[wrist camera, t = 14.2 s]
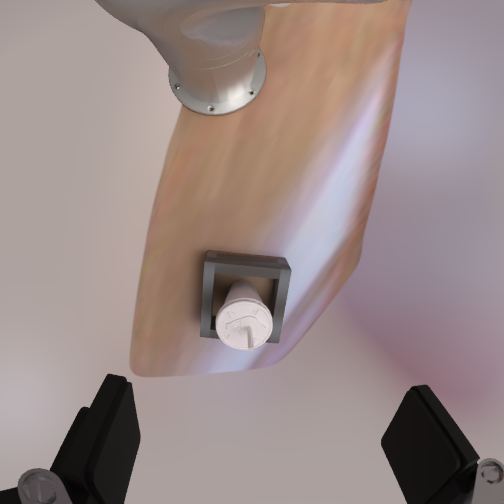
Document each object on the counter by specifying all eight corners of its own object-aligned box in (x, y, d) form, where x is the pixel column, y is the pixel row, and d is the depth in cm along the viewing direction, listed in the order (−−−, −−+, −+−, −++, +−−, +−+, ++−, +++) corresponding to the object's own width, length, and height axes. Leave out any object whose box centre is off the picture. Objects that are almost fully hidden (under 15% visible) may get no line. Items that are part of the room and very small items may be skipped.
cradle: (208, 250, 41) (204, 261, 37) (285, 257, 42) (291, 270, 38) (203, 319, 44) (199, 336, 40) (274, 325, 45) (278, 343, 40)
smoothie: (263, 313, 43) (274, 374, 30) (218, 311, 43) (212, 372, 30) (267, 271, 42) (281, 322, 28) (220, 268, 41) (212, 319, 28)
